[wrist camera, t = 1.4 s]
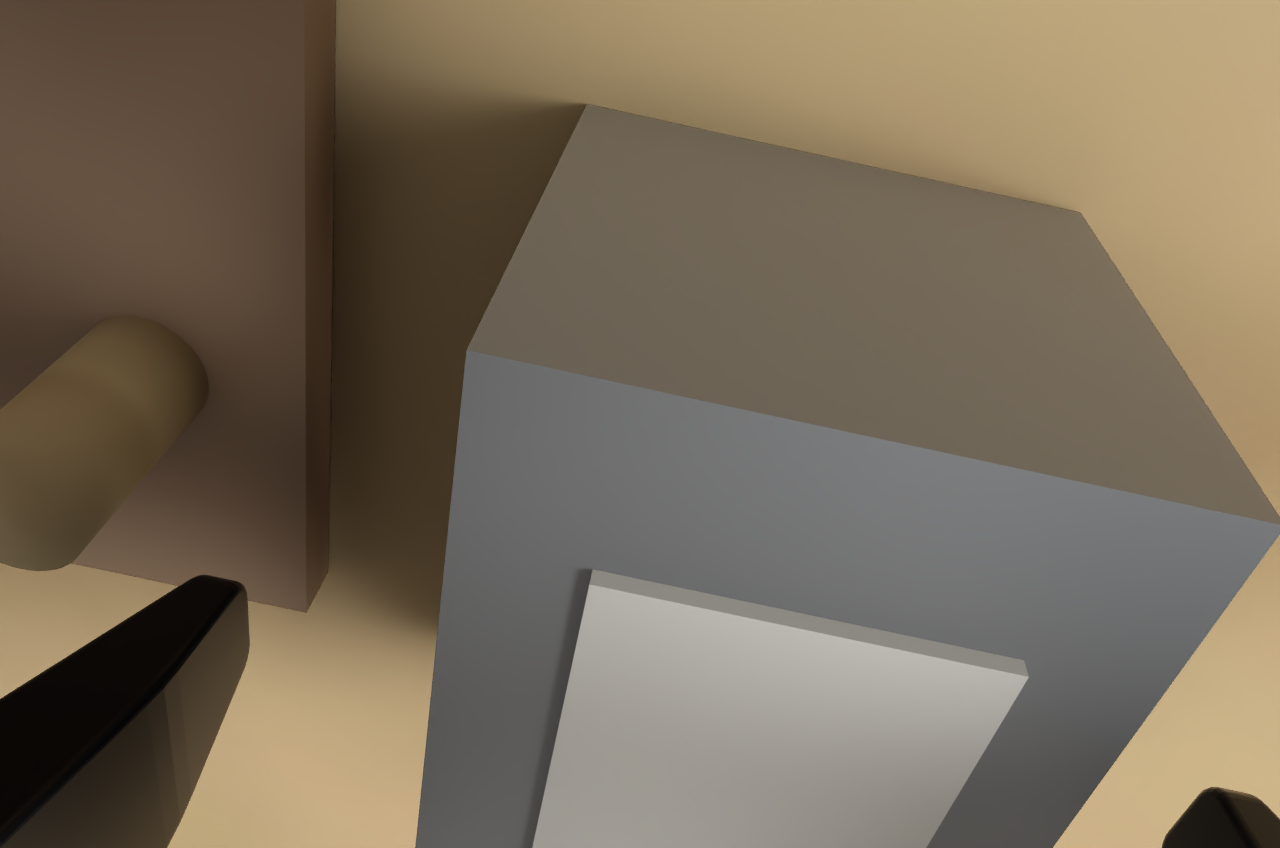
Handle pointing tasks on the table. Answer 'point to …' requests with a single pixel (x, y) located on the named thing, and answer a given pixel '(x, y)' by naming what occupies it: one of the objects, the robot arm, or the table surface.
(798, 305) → the block
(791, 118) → the table surface
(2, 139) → the wooden peg board
